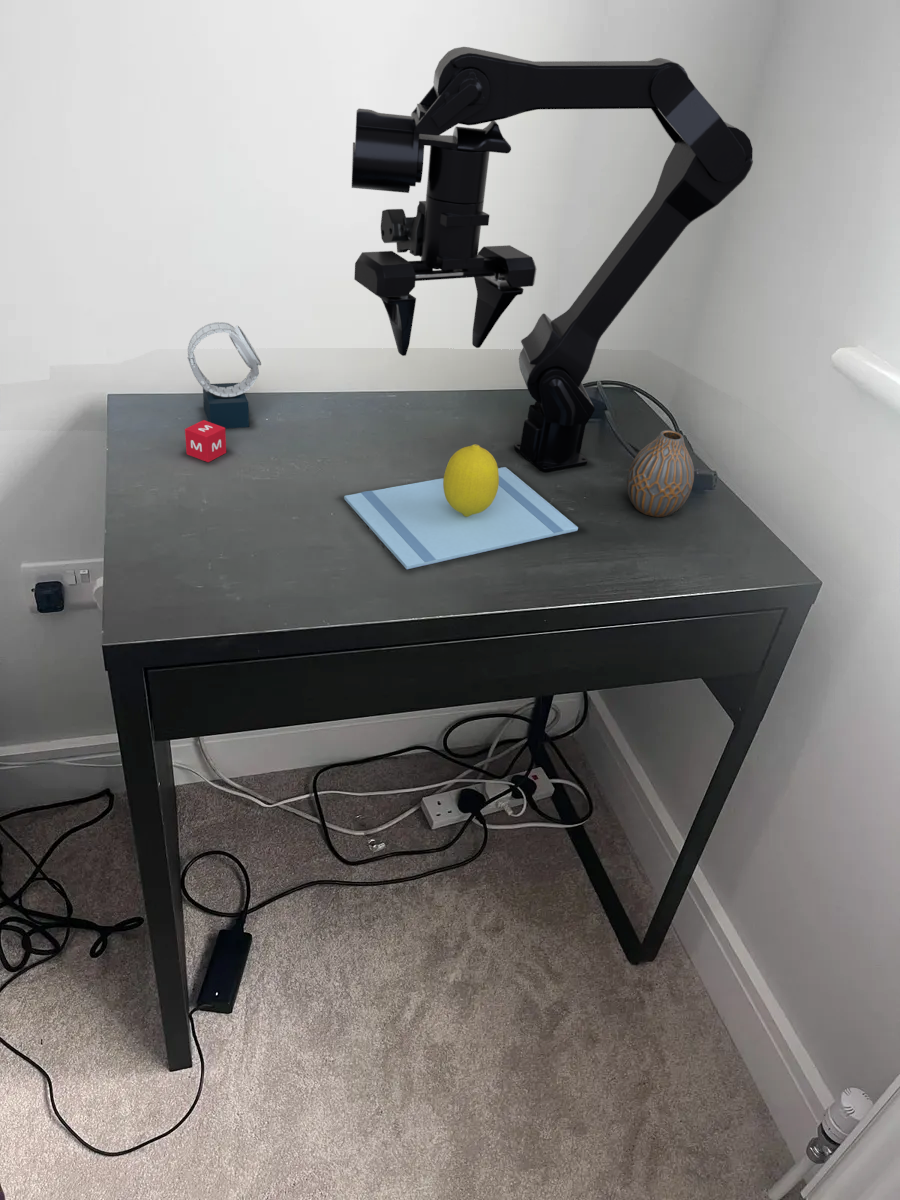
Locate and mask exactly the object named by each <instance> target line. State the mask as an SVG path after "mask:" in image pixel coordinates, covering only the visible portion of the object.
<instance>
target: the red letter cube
mask: <svg viewBox="0 0 900 1200" xmlns="http://www.w3.org/2000/svg"><path fill="white" fill-rule="evenodd" d="M226 433H227V432H226V428H224V427H222V426H219V425H216V424H213V423H211V422H208V420H205V419H202V420H201V421H198V422H196V423H194V424H192V425H190V426H188V427H186V428H184V434H185V435H184V436H185V438H184V439H185V451H186V453H185V454H186V455H188V456H190V457H193V458H195V459H198V460H200V461H202V462H206V463H211V462H212V461H213V460H216V459H217V458H219V457H221V456H223V455H225V454H227V437H226V436H227V435H226Z"/></svg>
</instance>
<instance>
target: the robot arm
mask: <svg viewBox="0 0 900 1200" xmlns="http://www.w3.org/2000/svg"><path fill="white" fill-rule="evenodd" d="M433 75H434V76H433V85H432V87H431V88H430V89H429V91H428V92H427V93H426V94H425V95H424V97H423V98H422V99H421V100H420V101H419V103H416V106H415V108H414V109H413V111H412V112H411V114H410V115H402V114H394V113H384V112H383V113H382V112H378V111H375V110H373V109H368V108H357V109H356V111H355V113H356V114H355V115H356V116H355V134H354V142H352V155H351V157H352V158H351V159H352V160H351V189H360V190H371V191H372V190H373V191H382V192H391V193H392V192H395V193H402V194H403V193H404V194H410V190H411V189H410V188H411V187H416V184H417V183H418V184H421V183H422V178H423V169H424V156H425V146H426V147H429V159H428V170H427V181H426V182H427V183H426V193H425V200H419V201H418V205H417V208H416V214H415V216H406V213H405V210H404V209H403V208H388V209H383V210H382V211H381V217H380V218H381V220H380V236H381V237H380V238H381V240H382V242H383V243H384V244H394V243H395V244H396V252H397V253H396V252H395V251H393V250H384V251H383V250H382V251H363V252H362V251H361V254H360V255H359V257H358V258H357V259H356V261H355V263H354V279H353V280H354V281H356V282H357V283H358V284H360V285H361V286H363V287H364V288H365V289H367V290H368V291H369V292H371V293H372V294H373V295H375V296H377V297H378V298H379V299H380V300H381V301H382V304H383V306H384V308H385V311H386V314H387V316H388V320H389V323H390V327H391V330H392V334H393V337H394V341H395V345H396V348H397V352H398V354H399V355H401V356H402V357H405V356H407V355H408V354H407V353H408V350H409V347H410V343H411V335H412V328H413V323H414V315H415V311H416V310H415V308H416V302H417V297H415V296H414V295H412V293H411V292H412V291H413V290H414V289H415V287H416V282H420V281H421V282H422V281H423V282H424V281H434V280H435V281H438V280H454V279H466V278H467V279H468V278H473V279H474V283H475V289H476V302H475V308H474V309H475V310H474V317H473V318H474V319H473V325H472V338H471V339H472V340H471V341H472V342H471V344H472V346H473V347H474V348H476V349H479V348H481V347H482V345H483V344H484V343H485V340H486V339H487V337H488V336H489V334H491V332H492V330H493V328H494V326H495V325H496V324H497V322H498V321H499V319H500V318H501V316H502V315H503V314H504V312H505V311H506V309H508V307H509V306H510V305H511V303H512V302H513V301H514V299H515V298H516V297H517V296H522V295H523V293H524V288H527V287H534V285H535V282H536V275H537V266H536V263H535V260H534V258H533V256H531V255H529V254H527V253H525V252H524V251H521V250H520V249H518V248H516V247H514V246H512V245H489V246H482V247H481V249H480V250H479V246H480V239H481V228H482V227H484V226H486V227H487V226H489V224H490V223H489V222H490V214H489V213H487V212H485V211H484V204H485V195H486V194H485V193H486V188H487V187H486V184H487V177H488V168H489V160H490V153H497V154H510V153H511V151H512V146H511V144H510V143H509V142H508V140H506V138H505V137H504V136H503V134H502V132H501V128H500V125H499V123H497V121H500V120H505V119H507V118H510V117H513V116H514V117H515V116H517V115H520V114H524V113H527V112H532V111H537V110H629V109H630V110H635V109H636V110H639V109H640V110H641V109H642V110H645V109H646V110H648V109H649V110H651V111H652V113H653V114H654V116H655V118H656V120H657V121H658V123H659V124H660V126H661V127H662V129H663V131H664V132H665V133H666V134H667V136H668V137H669V138H670V140H671V141H672V142H673V144H674V145H673V146H672V149H671V150H670V153H669V155H668V156H667V158H666V160H665V162H664V164H663V167H662V169H661V173H660V176H659V179H658V182H657V185H656V188H655V191H654V193H653V195H652V197H651V199H650V200H649V201H648V203H647V204H646V205H645V206H644V208H643V209H642V211H641V212H640V213H639V214H638V216H637V217H636V219H635V220H634V221H633V223H632V224H631V225H630V226H629V228H627V230H626V232H625V233H624V234H623V236H622V237H621V238H620V240H619V241H618V243H617V244H616V246H615V247H614V248H613V249H612V251H611V252H610V254H609V255H608V256H607V257H606V259H605V260H604V262H603V263H602V264H601V265H600V267H599V268H598V270H597V271H596V272H595V274H593V276H592V277H591V279H590V280H589V282H587V284H586V285H585V287H584V289H582V291H581V292H580V294H579V295H578V296H577V297H576V299H575V300H574V301H573V303H572V304H571V306H570V307H569V308H568V309H567V310H566V311H564V313H561V314H560V315H559V316H557V317H556V318H554V319H551V318H550V317H549V316H548V315H547V314H546V313H542V314H541V315H540V316H539V317H538V319H537V321H536V323H535V325H534V327H533V329H532V331H531V332H530V333H529V334H528V335H527V336H525V337H524V338H522V339H521V340H520V343H521V345H522V348H521V351H520V352H519V356H518V364H519V371H520V373H521V375H522V378H523V381H524V383H525V386H526V388H527V391H528V393H529V394H530V396H531V398H532V399H533V400H534V401H535V402H534V404H529V407H528V412H527V418H525V419H524V421H523V426H522V433H521V440H520V442H519V443H515V444H514V447H513V449H514V450H515V451H516V452H518V453H519V454H520V455H521V456H522V457H524V458H525V459H526V460H527V461H528V462H530V463H531V464H532V465H534V466H535V467H536V468H537V469H539V470H540V471H541V472H545V473H547V472H552V471H558V470H564V469H567V468H573V467H580V466H585V465H587V464H588V458H586V457H585V456H584V455H582V454H581V450H582V446H583V440H584V436H585V431H586V426H587V424H588V423H589V421H590V419H591V417H592V416H593V415H594V412H595V411H596V408H595V406H594V404H593V402H592V400H591V398H590V396H589V394H588V392H587V391H586V388H585V386H584V385H583V381H584V379H585V377H586V375H587V373H588V372H589V370H590V368H591V364H592V361H593V358H594V356H595V353H596V350H597V347H598V344H599V341H600V340H601V338H602V336H603V335H604V334H605V333H606V331H607V330H608V329H609V327H610V326H611V324H612V323H613V322H614V321H615V319H616V318H617V317H618V316H619V314H620V313H621V312H622V310H623V309H624V308H625V306H626V305H627V304H628V303H629V301H630V300H631V299H632V298H633V296H635V294H636V292H637V291H638V290H639V288H640V287H641V286H642V285H643V283H644V282H645V281H646V279H647V278H648V277H649V276H650V274H651V273H652V272H653V271H654V269H655V268H656V266H657V265H658V264H659V263H660V262H661V260H662V259H663V258H664V257H665V255H666V254H667V252H668V251H669V250H670V248H671V247H672V246H673V245H674V244H675V242H676V241H677V239H678V238H680V236H681V235H682V233H683V232H684V231H685V230H686V228H687V227H688V226H689V225H690V224H691V223H692V222H694V221H695V220H697V219H699V218H700V217H702V216H703V215H704V214H706V213H708V212H709V211H711V210H713V209H714V208H716V207H717V206H719V204H721V203H722V202H723V201H724V200H725V199H726V198H727V197H728V196H729V195H730V194H731V193H732V192H733V191H734V190H735V189H737V187H738V186H739V185H741V184H742V183H743V182H744V181H745V179H746V177H747V176H748V175H749V173H750V171H751V169H752V166H753V163H754V160H753V154H754V153H753V148H754V147H753V146H752V142H751V139H750V138H749V137H748V135H747V134H746V132H744V131H743V130H741V129H739V127H736V126H734V125H732V124H729V123H728V122H726V121H724V120H723V118H722V117H721V115H720V114H719V113H718V112H717V111H716V109H714V107H713V106H712V105H711V103H710V102H709V101H708V100H707V99H706V98H705V97H704V96H703V94H702V93H701V91H699V90H698V88H697V87H696V85H694V83H693V82H692V80H691V79H690V77H689V75H688V73H687V71H686V69H685V68H684V66H682V65H680V64H679V63H678V62H675V61H673V60H670V59H667V58H663V57H657V58H653V59H650V60H601V61H600V60H590V61H589V60H588V61H587V60H584V61H583V60H577V61H572V60H571V61H568V60H567V61H566V60H565V61H563V60H562V61H559V60H558V61H556V60H555V61H554V60H553V61H552V60H550V61H549V60H548V61H547V60H546V61H543V60H542V61H541V60H540V61H539V60H537V61H533V60H528V59H523V58H519V57H515V56H511V55H507V54H503V53H498V52H494V51H490V50H484V49H480V48H474V47H471V46H470V47H469V46H459V47H455V48H453V49H450V50H448V51H447V52H446V53H445V54H444V56H442V58H441V59H440V60H439V61H438V63H437V65H436V68H435V70H434V74H433ZM485 123H489V124H487V126H485V127H484V128H476V127H465V126H475V125H480V124H485ZM457 125H464V126H457ZM453 127H454V129H453V133H452V135H450V134H449V135H448V134H447V135H445V134H443V133H445V132H447V131H449V130H450V129H452V128H453ZM442 134H443V135H442ZM408 251H409V254H411V255H412V256H413V257H420V260H407V259H406V258H404V257H402V256H401V255H399V254H398V253H407V252H408ZM410 293H411V294H410Z"/></svg>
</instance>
